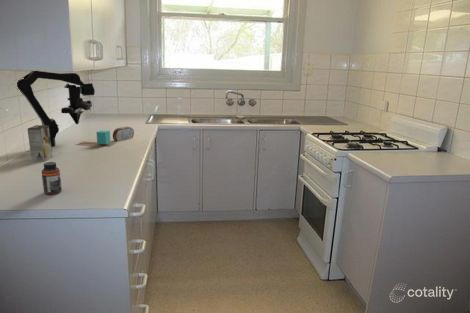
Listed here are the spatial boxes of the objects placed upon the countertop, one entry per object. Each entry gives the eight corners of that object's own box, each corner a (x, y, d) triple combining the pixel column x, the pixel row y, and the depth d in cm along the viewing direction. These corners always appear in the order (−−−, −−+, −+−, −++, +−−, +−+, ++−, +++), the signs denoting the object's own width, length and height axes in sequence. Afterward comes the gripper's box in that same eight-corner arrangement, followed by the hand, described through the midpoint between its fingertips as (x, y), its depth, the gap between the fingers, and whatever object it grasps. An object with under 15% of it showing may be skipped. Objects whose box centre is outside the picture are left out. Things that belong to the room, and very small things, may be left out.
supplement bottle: (43, 191, 135) (40, 161, 132) (60, 188, 138) (58, 160, 135) (44, 196, 130) (41, 166, 128) (62, 193, 133) (59, 164, 130)
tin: (131, 138, 227) (130, 125, 225) (135, 139, 226) (134, 126, 224) (112, 142, 215) (111, 128, 213) (116, 143, 213) (115, 129, 211)
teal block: (106, 144, 201) (105, 132, 200) (97, 143, 202) (96, 132, 200) (110, 142, 206) (109, 130, 205) (101, 141, 207) (101, 130, 205)
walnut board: (108, 149, 200) (108, 147, 199) (75, 146, 202) (74, 144, 202) (116, 145, 208) (116, 143, 208) (83, 143, 211) (83, 141, 211)
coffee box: (39, 156, 181) (36, 124, 177) (52, 156, 182) (49, 125, 178) (30, 161, 172) (26, 128, 168) (44, 161, 173) (41, 128, 169)
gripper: (78, 98, 191) (81, 127, 195) (96, 95, 209) (98, 122, 213) (59, 97, 192) (62, 126, 196) (78, 94, 210) (81, 121, 214)
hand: (77, 124), depth 205 cm, fingers closed
